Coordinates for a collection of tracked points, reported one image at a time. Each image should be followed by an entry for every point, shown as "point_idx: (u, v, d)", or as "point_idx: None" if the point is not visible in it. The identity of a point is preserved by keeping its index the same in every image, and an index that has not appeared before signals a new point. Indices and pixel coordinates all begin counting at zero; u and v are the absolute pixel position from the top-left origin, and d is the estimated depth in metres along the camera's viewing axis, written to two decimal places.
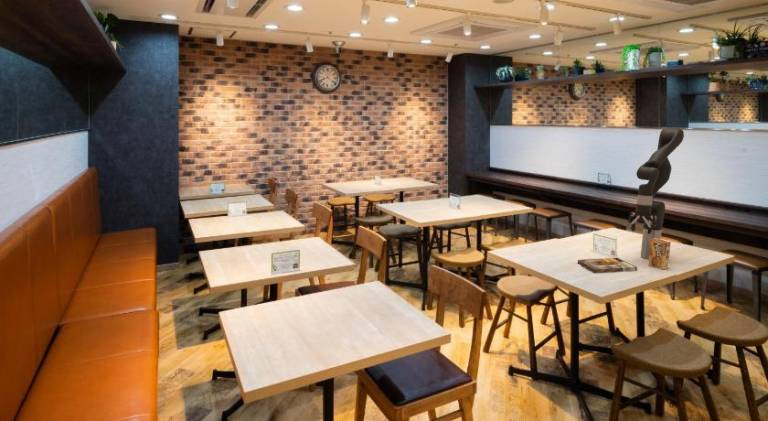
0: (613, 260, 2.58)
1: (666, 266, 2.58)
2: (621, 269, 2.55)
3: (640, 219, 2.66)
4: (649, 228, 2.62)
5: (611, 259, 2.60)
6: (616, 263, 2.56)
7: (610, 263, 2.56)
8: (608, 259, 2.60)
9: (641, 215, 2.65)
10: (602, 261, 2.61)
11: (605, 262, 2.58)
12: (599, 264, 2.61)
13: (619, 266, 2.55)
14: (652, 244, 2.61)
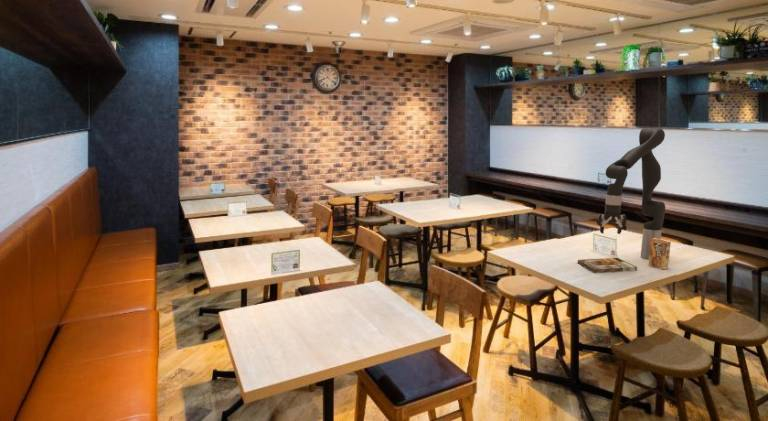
0: (613, 260, 2.58)
1: (666, 266, 2.58)
2: (621, 269, 2.55)
3: (611, 220, 2.55)
4: (620, 228, 2.55)
5: (611, 259, 2.60)
6: (616, 263, 2.56)
7: (610, 263, 2.56)
8: (608, 259, 2.60)
9: (612, 216, 2.55)
10: (602, 261, 2.61)
11: (605, 262, 2.58)
12: (599, 264, 2.61)
13: (619, 266, 2.55)
14: (652, 244, 2.61)
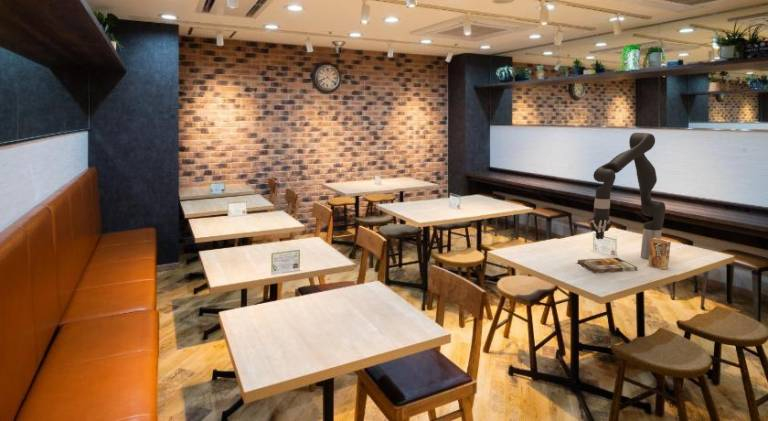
0: (613, 260, 2.58)
1: (666, 266, 2.58)
2: (621, 269, 2.55)
3: (602, 222, 2.53)
4: (603, 233, 2.54)
5: (611, 259, 2.60)
6: (616, 263, 2.56)
7: (610, 263, 2.56)
8: (608, 259, 2.60)
9: (601, 219, 2.52)
10: (602, 261, 2.61)
11: (605, 262, 2.58)
12: (599, 264, 2.61)
13: (619, 266, 2.55)
14: (652, 244, 2.61)
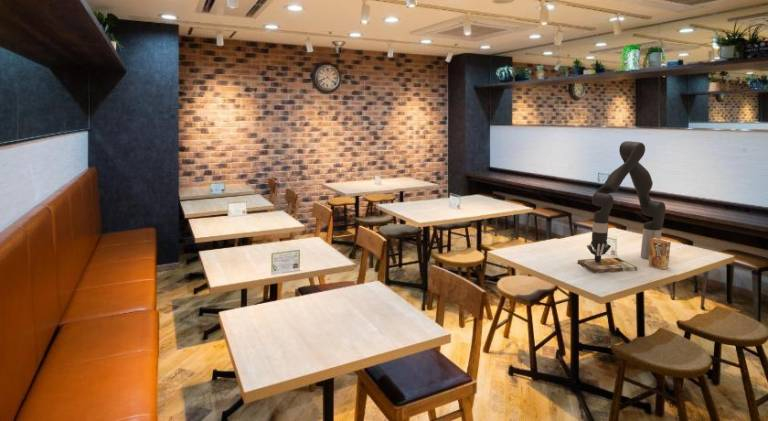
0: (613, 260, 2.58)
1: (666, 266, 2.58)
2: (621, 269, 2.55)
3: (600, 245, 2.55)
4: (600, 256, 2.57)
5: (611, 259, 2.60)
6: (616, 263, 2.56)
7: (610, 263, 2.56)
8: (608, 259, 2.60)
9: (599, 243, 2.55)
10: (602, 261, 2.61)
11: (605, 262, 2.58)
12: (599, 264, 2.61)
13: (619, 266, 2.55)
14: (652, 244, 2.61)
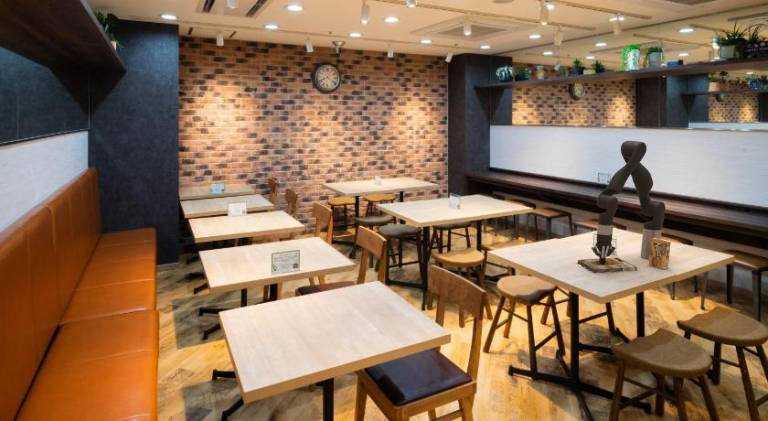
0: (614, 260, 2.58)
1: (666, 266, 2.58)
2: (621, 269, 2.55)
3: (605, 247, 2.56)
4: (604, 258, 2.57)
5: (612, 259, 2.60)
6: (617, 263, 2.56)
7: (611, 263, 2.56)
8: (609, 259, 2.60)
9: (604, 245, 2.55)
10: None
11: (606, 262, 2.58)
12: (599, 264, 2.61)
13: (619, 266, 2.55)
14: (652, 244, 2.61)
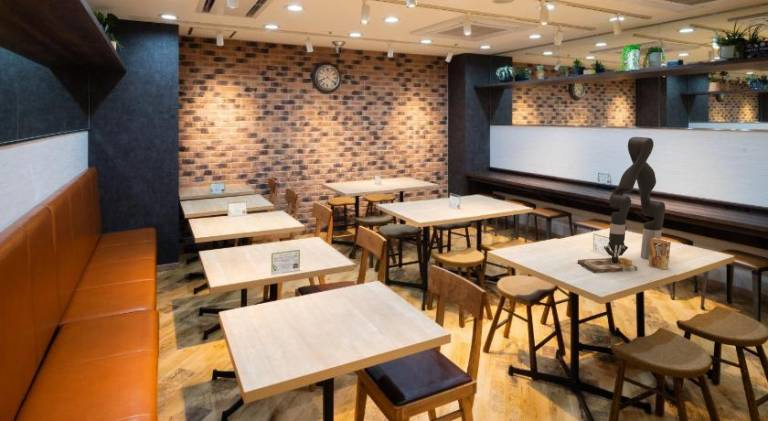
0: (626, 259, 2.59)
1: (666, 266, 2.58)
2: (621, 269, 2.55)
3: (617, 247, 2.57)
4: (617, 258, 2.58)
5: (624, 258, 2.60)
6: (629, 262, 2.57)
7: (623, 262, 2.57)
8: (621, 258, 2.60)
9: (617, 244, 2.56)
10: None
11: (618, 261, 2.59)
12: (599, 264, 2.61)
13: (619, 266, 2.55)
14: (652, 244, 2.61)
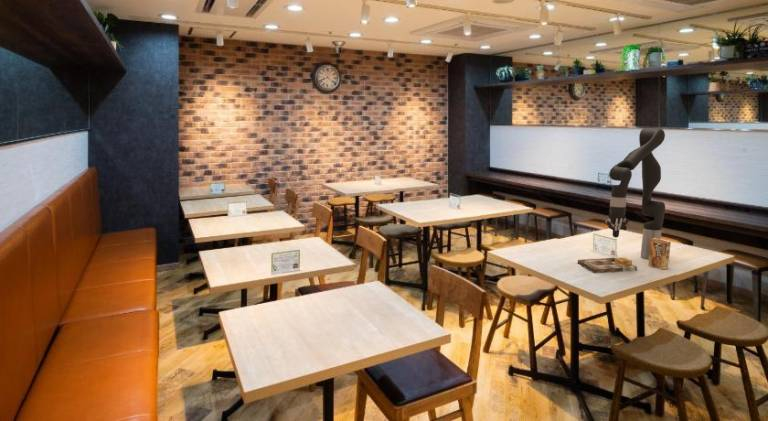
0: (626, 259, 2.59)
1: (666, 266, 2.58)
2: (621, 269, 2.55)
3: (618, 220, 2.54)
4: (618, 231, 2.55)
5: (624, 258, 2.60)
6: (629, 262, 2.57)
7: (624, 262, 2.57)
8: (621, 258, 2.60)
9: (617, 217, 2.53)
10: (615, 260, 2.61)
11: (618, 261, 2.59)
12: (599, 264, 2.61)
13: (619, 266, 2.55)
14: (652, 244, 2.61)
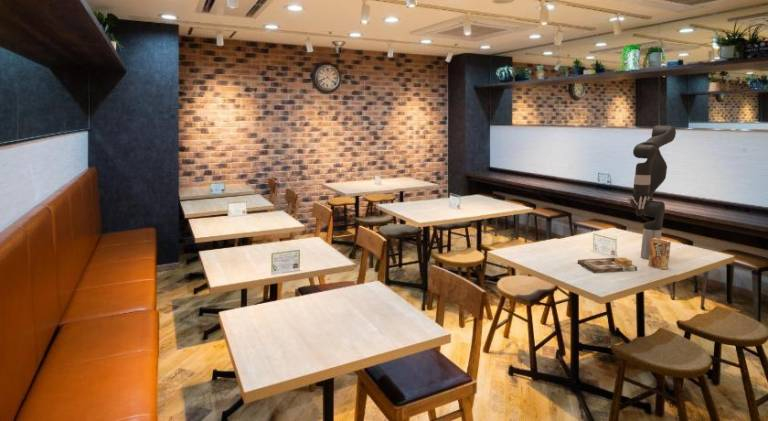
0: (626, 259, 2.59)
1: (666, 266, 2.58)
2: (621, 269, 2.55)
3: (642, 198, 2.52)
4: (641, 210, 2.53)
5: (624, 258, 2.60)
6: (629, 262, 2.57)
7: (624, 262, 2.57)
8: (621, 258, 2.60)
9: (641, 196, 2.51)
10: (615, 260, 2.61)
11: (618, 261, 2.59)
12: (599, 264, 2.61)
13: (619, 266, 2.55)
14: (652, 244, 2.61)
